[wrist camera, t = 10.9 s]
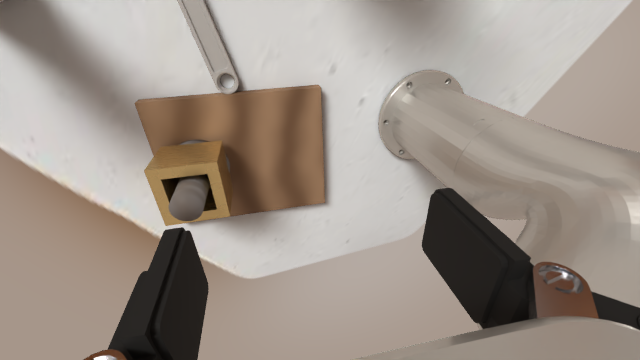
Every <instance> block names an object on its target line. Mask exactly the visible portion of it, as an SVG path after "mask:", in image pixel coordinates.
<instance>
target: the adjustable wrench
mask: <svg viewBox="0 0 640 360" xmlns="http://www.w3.org/2000/svg"><path fill="white" fill-rule="evenodd" d="M177 1H178V3H179V6H180V8H181V10H182V12H183V14H184V17H185V19H186V21H187V23H188V26H189V28H190V30H191V32H192V34H193V37H194V39H195V41H196V43H197V45H198V48H199V50H200V52H201V54H202V57H203V59H204V61H205V63H206V65H207V68H208V70H209V72H210V74H211V77H212V79H213V81H214V83H215V85H216V87H217V89H218V90H219V91H220V92H222V93H224V94H231V93H233V92H235V91H236V90H237V88H238V84H239V80H238V77H237V74H236V72H235V70H234V67H233V65H232V63H231V61H230V58H229V56H228V54H227V51H226V49H225V47H224V44H223V42H222V40H221V38H220V35H219V33H218V31H217V28H216V26H215V24H214V22H213V19H212V17H211V15H210V12H209V10H208V8H207V6H206V3H205V1H204V0H177ZM224 74H229V75H231V76H232V77H233V78H234V86H233V87H232V88H229V89H227V88H224V87H223V86H222V85H221V84H220V77H221V76H222V75H224Z"/></svg>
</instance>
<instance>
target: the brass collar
mask: <svg viewBox="0 0 640 360" xmlns="http://www.w3.org/2000/svg"><path fill="white" fill-rule="evenodd" d="M144 172H145V174H146V177H147V179H148V182H149V185H150V187H151V190H152V192H153V195H154V197H155V200H156V202H157V205H158V207H159V210H160V212H161V215H162V218H163V220H164V223H165V225H166V226H168V225H175V224H181V223H188V222H195V221H202V220H209V219H216V218H223V217H229V216H230V213H231V204H232V195H233V187H232V182H231V178H230V173H229V169H228V164H227V160H226V155H225V151H224V146H223V142H222V140H221V141H212V142H202V143H193V144H184V145H174V146H165V147H160V148H159V150H158V151H157V153H156V154H155V156H154V157H153V159H152V160H151V161H150V163H149V164H148V166H147V167H146V169H145V170H144ZM202 174H208V177H209V181H210V186H209V189H208V193H207V197H206V201H205V205H204V209H203V213H202V215H201V216H200V217H199V218H198V219H196V220H193V221H181V220H178V219H176V218H175V217H173V216H172V215H171V213H170V212H169V203H170V201H171V198H172V196H173V194H174V192H175V189H176V187H177V185H178V182H179V180H180V178H181V177H186V176H194V175H202Z"/></svg>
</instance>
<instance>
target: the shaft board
mask: <svg viewBox="0 0 640 360" xmlns="http://www.w3.org/2000/svg"><path fill="white" fill-rule="evenodd" d="M135 106H136V109H137V111H138V114H139V117H140V120H141V122H142V125H143V128H144V131H145V133H146V136H147V139H148V142H149V144H150V147H151V150H152V153H153V155H154V156H155V154H156V153H157V151H158V150H159V148H160V147H165V146H174V145H184V144H193V143H202V142H212V141H221V140H222V142H223V146H224V151H225V155H226V160H227V164H228V169H229V173H230V178H231V182H232V187H233V195H232V204H231V213H230V216H237V215H243V214H250V213H257V212H264V211H271V210H278V209H284V208H291V207H298V206H305V205H312V204H319V203H325V191H324V163H323V134H322V106H321V87H320V86H319V85H310V86H298V87H286V88H274V89H262V90H250V91H238V92H233V93H231V94H224V93H214V94H202V95H190V96H178V97H166V98H154V99H142V100H138V101H137V102H135ZM209 186H210V181H209V177H208V174H202V175H194V176H186V177H181V178H180V180H179V182H178V185H177V187H176V189H175V192H174V194H173V196H172V198H171V201H170V203H169V212H170V213H171V215H172V216H173V217H175V218H176V219H178V220H181V221H193V220H196V219H198V218H199V217H200V216H201V215H202V213H203V209H204V205H205V201H206V197H207V193H208V189H209ZM230 216H229V217H230ZM195 222H196V221H195ZM188 223H189V222H188ZM181 224H182V223H181Z"/></svg>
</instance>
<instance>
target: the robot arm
mask: <svg viewBox="0 0 640 360" xmlns="http://www.w3.org/2000/svg"><path fill="white" fill-rule="evenodd" d="M407 83H408V84H407ZM406 84H407V85H406ZM384 121H385V122H384ZM378 126H379V133H380V137H381V139H382V141H383V143H384V145H385V146H386V147H387V148H388V149H389V150H390V151H391V152H392V153H393V154H395V155H397V156H398V157H401V158H405V159H416V160H418V161H419V162H420V163H421V164H422V165H423V166H424V167H425V168H426V169H428V170H429V171H430V172H431V173H432V174H433V175H434V176H435V177H436V178H438V179H439V180H440V181H441V182H442V183H443V184H444V185H445V186H447V187H448V188H444V189H438V190H436V191H435V192H434V194H432V195H431V198H430V203H429V209H428V214H427V219H426V225H425V230H424V235H423V240H422V248H423V251H424V253H425V254H426V255H427V257H428V258H429V260H430V261H431V262H432V264H433V265H434V267H435V268H436V269H437V271H438V272H439V274H440V275H441V276H442V278H443V279H444V280H445V282H446V283H447V285H448V286H449V287H450V289H451V290H452V292H453V293H454V294H455V296H456V297H457V299H458V300H459V302H460V303H461V304H462V306H463V307H464V309H465V310H466V311H467V313H468V314H469V315H470V317H471V318H472V319H473V321H474V322H475V323H477V325H478V328H479V330H478V331H474V332H469V333H465V334H460V335H456V336H452V337H447V338H443V339H438V340H434V341H430V342H425V343H421V344H417V345H413V346H409V347H404V348H400V349H395V350H391V351H387V352H382V353H378V354H374V355H370V356H366V357H361V358H357V359H352V360H640V152H636V151H631V150H627V149H622V148H617V147H613V146H609V145H606V144H602V143H599V142H595V141H591V140H587V139H584V138H581V137H578V136H574V135H572V134H569V133H565V132H563V131H560V130H557V129H554V128H551V127H548V126H546V125H543V124H540V123H538V122H535V121H533V120H530V119H527V118H524V117H522V116H519V115H517V114H514V113H511V112H509V111H506V110H504V109H501V108H498V107H496V106H493V105H491V104H488V103H485V102H483V101H480V100H478V99H475V98H472V97H470V96H467V95H465V94H464V93H463V90H462V88H461V86H460V84H459V83H458V82H457V81H456V80H455V79H454V78H453V77H452V76H450V75H448V74H447V73H444V72H441V71H436V70H424V71H420V72H416V73H413V74H411V75H409V76H408V77H406V78H404V79H403V80H402V81H400V82H399V83H398V84H397V85H396V86H395V87H394V88H393V89H392V90H391V91H390V93H389V94H388V96H387V97H386V99H385V101H384V103H383V105H382V107H381V111H380V114H379V122H378ZM483 215H485V216H488V217H491V218H496V219H505V220H520V219H527V221H526V225H525V227H524V229H523V231H522V233H521V234H520V235H519V237H518V238H517V240H516V243H514V242H512V241H511V240H510V239H509V238H508V237H507V236H506V235H505V234H504V233H502V232H501V231H500V230H499V229H498V228H497V227H496V226H494V225H493V224H492V223H491V222H490V221H489V220H488V219H487V218H485V217H484V216H483ZM207 295H208V282H207V278H206V276H205V273H204V270H203V267H202V264H201V261H200V258H199V255H198V252H197V249H196V246H195V243H194V240H193V238H192V235H191V232H190V231H185V229H184V228H182V227H181V228H175V229H168V230H165V231H164V233H163V235H162V237H161V240H160V242H159V245H158V247H157V250H156V252H155V255H154V257H153V260H152V262H151V265H150V267H149V269H148V271H144V272H142V273H141V274H140V276H139V278H138V280H137V283H136V285H135V287H134V290H133V292H132V294H131V296H130V299H129V301H128V303H127V306H126V308H125V310H124V313H123V315H122V317H121V320H120V322H119V324H118V327H117V329H116V331H115V334H114V336H113V338H112V341H111V343H110V345H109V348H108V350H102V351H100V352H97V353H94V354H92V355H90V356H89V357H87V358H85V359H84V360H197V358H198V352H199V345H200V340H201V333H202V327H203V320H204V315H205V308H206V302H207Z"/></svg>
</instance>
